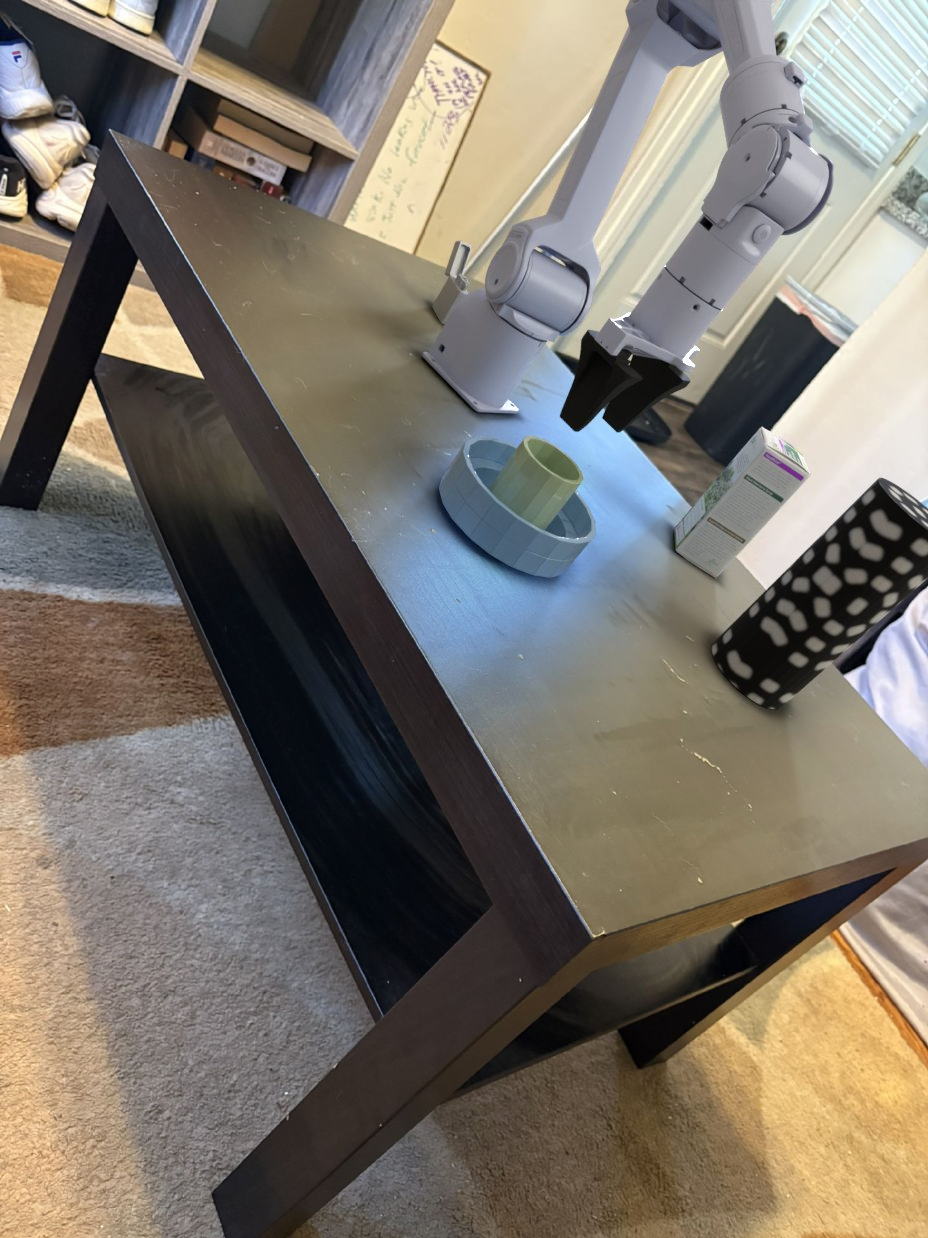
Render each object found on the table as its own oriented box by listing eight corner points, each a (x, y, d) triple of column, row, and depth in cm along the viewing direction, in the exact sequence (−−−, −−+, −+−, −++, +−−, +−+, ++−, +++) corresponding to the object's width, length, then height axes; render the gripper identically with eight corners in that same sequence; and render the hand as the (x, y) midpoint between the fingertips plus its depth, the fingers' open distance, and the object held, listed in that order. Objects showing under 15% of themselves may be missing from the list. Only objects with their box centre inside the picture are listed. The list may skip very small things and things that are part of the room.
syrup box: (716, 580, 93) (816, 476, 85) (672, 550, 92) (768, 442, 84) (713, 555, 98) (806, 455, 90) (670, 527, 97) (761, 423, 89)
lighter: (452, 327, 105) (488, 268, 101) (440, 322, 104) (476, 262, 100) (436, 299, 109) (469, 241, 105) (425, 294, 108) (458, 235, 104)
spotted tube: (790, 724, 77) (976, 564, 67) (715, 678, 76) (894, 506, 66) (776, 670, 84) (942, 517, 74) (707, 626, 83) (867, 464, 72)
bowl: (407, 479, 71) (434, 435, 69) (496, 474, 81) (522, 436, 79) (509, 592, 67) (542, 550, 65) (589, 572, 77) (620, 535, 75)
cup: (465, 502, 72) (511, 435, 69) (503, 498, 77) (548, 435, 73) (509, 550, 71) (559, 484, 67) (546, 543, 75) (594, 481, 72)
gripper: (693, 307, 62) (580, 456, 69) (760, 328, 73) (657, 454, 80) (626, 248, 64) (523, 398, 71) (701, 278, 75) (605, 404, 83)
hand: (590, 424), depth 76 cm, fingers open, 7 cm apart
